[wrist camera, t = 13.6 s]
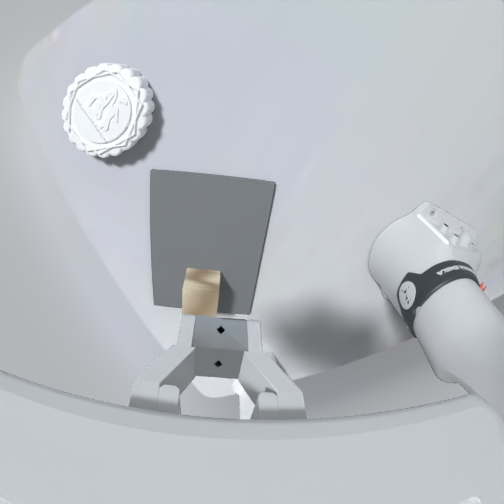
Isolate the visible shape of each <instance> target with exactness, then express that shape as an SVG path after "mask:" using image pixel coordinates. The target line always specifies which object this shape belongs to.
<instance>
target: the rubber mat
mask: <svg viewBox="0 0 504 504" xmlns="http://www.w3.org/2000/svg"><path fill="white" fill-rule="evenodd" d="M274 187H275V182H271V181H264V180H256V179H248V178H240V177H231V176H222V175H213V174H203V173H193V172H181V171H169V170H155V169H152V170H151V173H150V236H151V264H152V282H153V297H154V305H158V306H166V307H175V308H182V289H183V284H184V280H185V275H186V270H187V268H195V269H205V270H214V271H220V286H219V298H218V306H217V312H223V313H234V314H246V315H249V313H250V308H251V303H252V298H253V294H254V289H255V284H256V279H257V274H258V269H259V264H260V259H261V254H262V249H263V244H264V238H265V233H266V228H267V223H268V218H269V213H270V208H271V203H272V198H273V192H274Z"/></svg>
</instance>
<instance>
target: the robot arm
mask: <svg viewBox="0 0 504 504" xmlns="http://www.w3.org/2000/svg"><path fill="white" fill-rule="evenodd" d="M431 212H432V213H431ZM430 213H431V214H430ZM476 241H477V232H476V230H475V229H474V228H473V227H471V226H469V225H468V224H466V223H465V222H463V221H461V220H460V219H458V218H456V217H455V216H453V215H451V214H449V213H448V212H446V211H444V210H442V209H441V208H439V207H437V206H435V205H434V204H432V203H430V202H424V203H422V204H421V205H420V206H418V207H417V208H416V209H415V210H414V211H413V212H412V213H411V214H409V215H407V216H404V217H402V218H400V219H398V220H396V221H395V222H393V223H392V224H390V225H389V226H388V227H387V228H386V229H385V230H384V231H383V232H382V233H381V234H380V235H379V237H378V238H377V240H376V241H375V243H374V245H373V247H372V249H371V252H370V256H369V270H370V273H371V275H372V277H373V279H374V280H375V281H376V282H377V283H378V284H379V285H380V286H381V291H382V294H383V296H384V297H385V299H387V300H390V301H391V302H392V304H393V305H394V306H395V308H396V309H397V311H398V312H399V314H400V315H401V316H402V318H403V319H404V321H405V323H406V326H407V328H408V329H409V331H410V332H411V333H412V335H413V336H414V337H415V338H417V339H418V341H419V343H420V345H421V347H422V349H423V351H424V353H425V355H426V357H427V359H428V361H429V363H430V365H431V367H432V369H433V372H434V374H435V375H436V376H437V377H438V378H439V379H440V380H441V381H444V382H447V383H459V384H460V385H461V386H462V387H463V388H464V389H465V390H466V391H467V392H468V393H469V394H468V395H464V396H460V397H457V398H452V399H448V400H444V401H440V402H435V403H431V404H426V405H421V406H416V407H411V408H405V409H399V410H393V411H387V412H379V413H372V414H364V415H355V416H344V417H332V418H317V419H307V418H306V412H305V406H304V400H303V394H302V391H301V390H300V389H299V388H298V387H297V386H296V385H295V384H294V383H293V382H292V380H291V379H290V378H289V377H288V376H287V375H286V374H285V373H284V372H283V370H282V369H281V368H280V367H279V366H278V365H277V364H276V363H275V362H274V360H273V359H272V358H271V357H270V356H269V355H268V354H267V353H264V352H263V348H262V337H261V326H260V321H259V320H245V319H231V318H218V317H209V316H201V315H191V314H184V313H183V315H182V319H181V324H180V330H179V336H178V342H177V345H172V346H171V347H170V348H169V349H168V350H167V351H166V352H165V353H164V354H162V355H161V356H160V357H159V358H158V359H157V360H156V361H155V362H154V363H153V364H152V365H150V366H149V367H148V368H147V369H146V370H145V371H144V372H142V373H141V374H140V375H139V376H138V377H137V378H136V379H135V381H134V385H133V390H132V394H131V398H130V403H129V407H127V406H122V405H117V404H112V403H108V402H103V401H98V400H94V399H90V398H86V397H82V396H78V395H74V394H71V393H67V392H63V391H60V390H57V389H53V388H50V387H47V386H44V385H40V384H37V383H34V382H31V381H28V380H26V379H23V378H20V377H17V376H15V375H12V374H9V373H7V372H4V371H1V370H0V504H504V317H503V315H502V314H501V313H500V312H499V311H498V309H497V308H496V307H495V306H494V304H493V303H492V302H491V301H490V300H489V298H488V297H487V296H486V295H485V293H484V290H485V288H486V286H485V287H484V288H483V290H482V287H483V284H484V283H483V282H482V283H481V285H479V282H478V279H477V277H476V275H477V272H478V270H479V267H480V262H481V255H480V252H479V251H478V250H477V249H476V248H475V246H476ZM195 376H207V377H221V378H231V379H238V381H239V382H240V384H241V385H242V387H243V388H244V390H245V392H246V393H247V395H248V396H249V397H250V399H251V400H252V402H253V403H254V405H255V407H254V409H253V412H252V415H251V418H250V419H226V418H211V417H200V416H189V415H181V408H180V395H181V393H182V392H183V391H184V390H185V389H186V387H187V386H188V385H189V383H191V381H192V380H193V379H194V378H195Z"/></svg>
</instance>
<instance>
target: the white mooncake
mask: <svg viewBox="0 0 504 504" xmlns="http://www.w3.org/2000/svg"><path fill="white" fill-rule="evenodd" d="M148 84H149V83H148V80H147V78H145V77H143V76H140V72H139V71H138V70H137V69H135V68H129V66H128V65H126V64H114V63H102V64H100V65H99V66H95V67H90V68H88V69H87V70H86V71H85V73H83V74H80V75H78V76H77V77H76V79H75V83H73V84H71V85H70V86H69V88H68V90H67V94H68V95H67V96H66V97H65V98H64V100H63V107H64V110H63V111H62V119H63V120H64V121H65V123H64V130H65V132H66V133H68V134H69V140H70V141H71V142H72V143H73V144H76V146H77V148H78V150H80V151H82V152H85V151H86V152H87V154H88V155H89V156H92V157H94V156H97V155H98V156H99V157H101V158H107V157H109V156H110V155H112V156H118V155H119V154H121V153H122V152H123V151H125V150H129V149H130V148H131V147H133V146H134V145H135V144H136V143H137V142H138V141H139V139H140V138H141V137H143V136H144V135H145V134H146V132H147V126H149V125H150V124H151V123H152V120H153V116H152V114H151V113H152V112H153V111H154V109H155V103H154V102H153V100H152V98H153V95H154V93H153V90H152V89H151V88H149V87H148Z"/></svg>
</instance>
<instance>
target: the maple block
mask: <svg viewBox="0 0 504 504" xmlns="http://www.w3.org/2000/svg"><path fill="white" fill-rule="evenodd" d="M219 286H220V271H214V270H205V269H195V268H187V270H186V275H185V280H184V284H183V289H182V315H183V313H184V314H191V315H201V316H209V317H216V315H217V306H218V298H219Z"/></svg>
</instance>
